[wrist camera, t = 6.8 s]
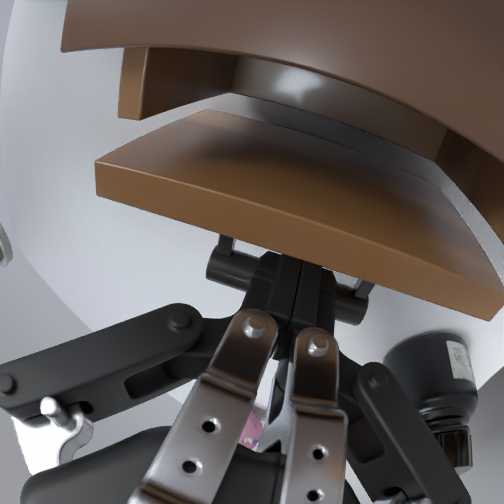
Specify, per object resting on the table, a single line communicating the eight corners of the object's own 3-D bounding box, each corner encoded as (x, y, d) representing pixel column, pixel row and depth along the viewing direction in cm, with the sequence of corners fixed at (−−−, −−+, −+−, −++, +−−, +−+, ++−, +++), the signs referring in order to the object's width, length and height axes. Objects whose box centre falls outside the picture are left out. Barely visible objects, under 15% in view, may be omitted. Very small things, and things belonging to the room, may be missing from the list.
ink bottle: (458, 374, 23) (468, 476, 13) (383, 389, 26) (378, 492, 17) (472, 317, 18) (501, 449, 9) (377, 337, 22) (374, 476, 13)
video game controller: (239, 413, 41) (248, 453, 36) (212, 415, 39) (219, 456, 34) (261, 393, 35) (273, 441, 30) (227, 396, 33) (238, 446, 28)
